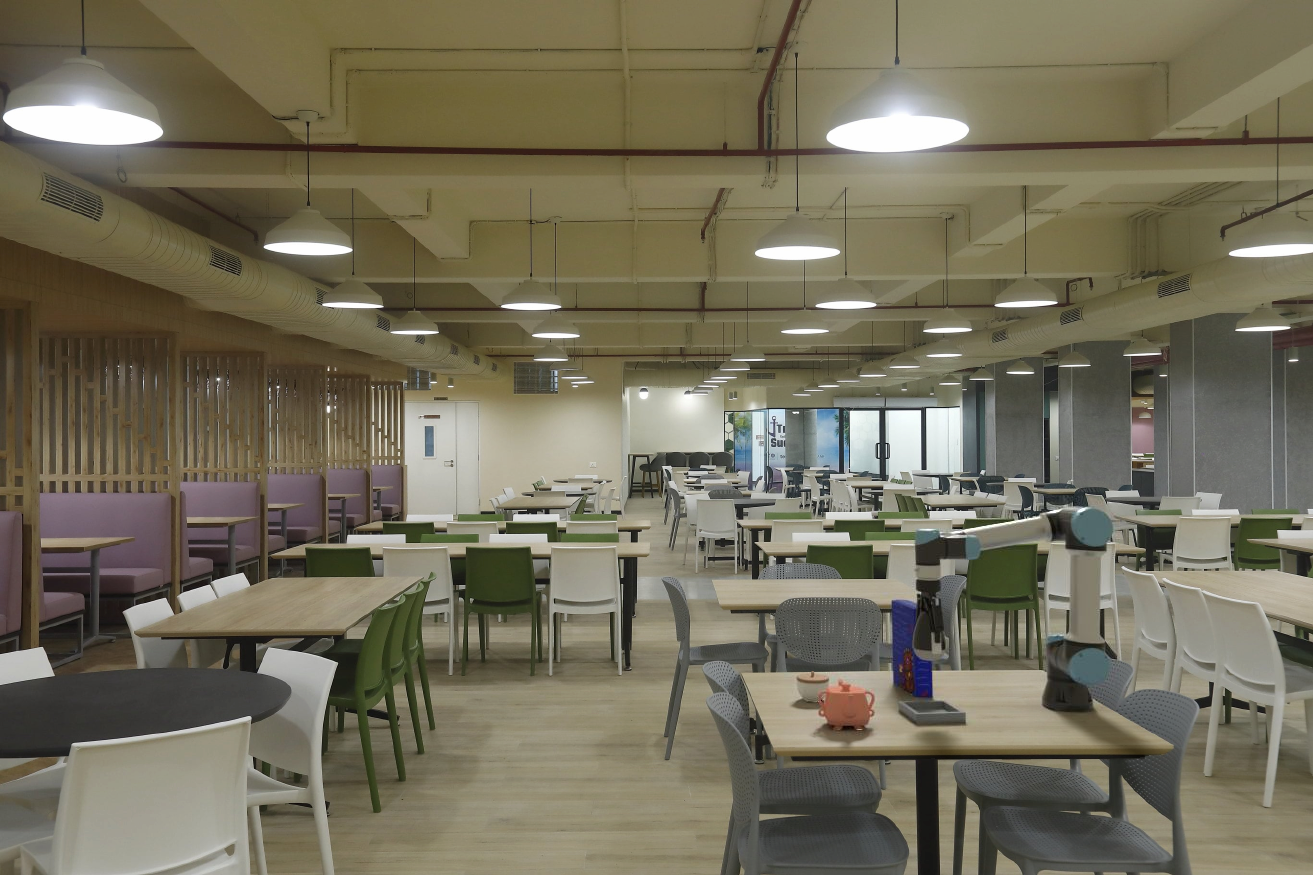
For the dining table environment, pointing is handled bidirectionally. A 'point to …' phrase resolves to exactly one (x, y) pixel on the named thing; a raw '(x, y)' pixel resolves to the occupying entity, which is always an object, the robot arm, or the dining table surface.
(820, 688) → the lidded jar
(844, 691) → the teapot
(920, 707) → the tray
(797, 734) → the dining table surface
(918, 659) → the cereal box
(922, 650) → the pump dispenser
